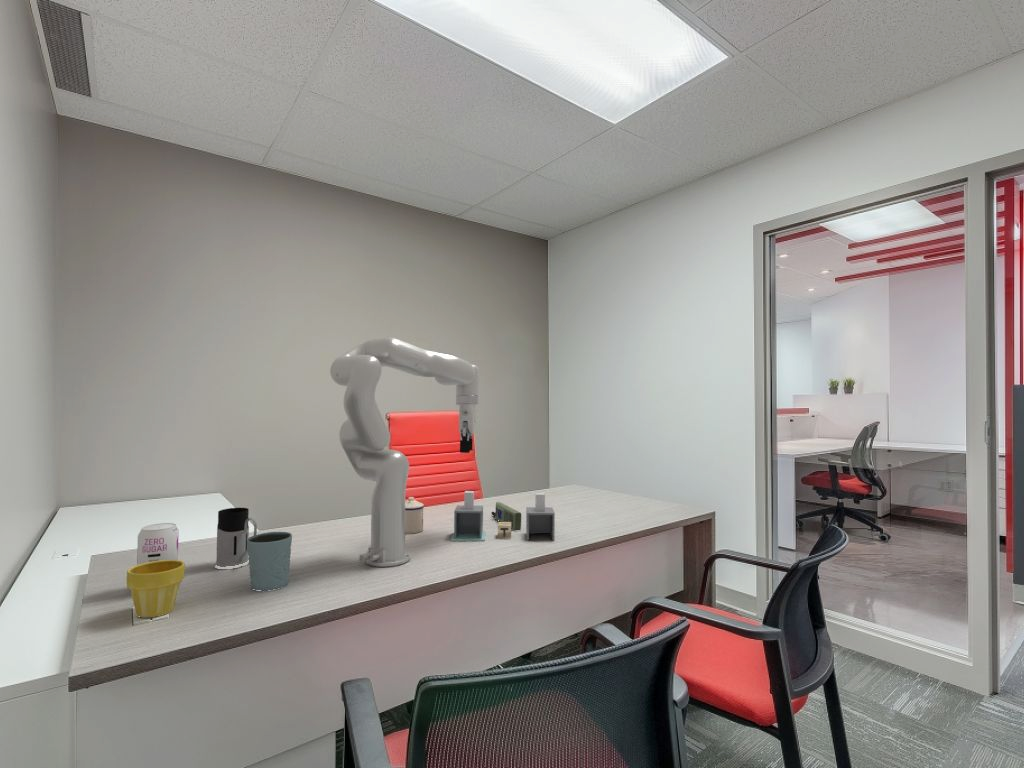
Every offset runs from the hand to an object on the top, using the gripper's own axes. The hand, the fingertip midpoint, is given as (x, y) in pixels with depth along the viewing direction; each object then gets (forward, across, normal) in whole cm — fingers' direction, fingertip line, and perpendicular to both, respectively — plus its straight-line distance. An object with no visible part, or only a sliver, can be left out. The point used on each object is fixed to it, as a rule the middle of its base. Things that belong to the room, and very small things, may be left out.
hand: (466, 451), depth 174 cm
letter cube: (+29, 0, -13) cm, 32 cm away
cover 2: (+28, 0, -25) cm, 38 cm away
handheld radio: (+29, +20, -13) cm, 37 cm away
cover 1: (+28, 0, -1) cm, 28 cm away
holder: (+30, -32, +59) cm, 74 cm away
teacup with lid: (+29, +8, +21) cm, 36 cm away
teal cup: (+30, -46, +44) cm, 70 cm away
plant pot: (+30, -62, +61) cm, 92 cm away
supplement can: (+30, -49, +70) cm, 90 cm away
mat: (+29, 0, -1) cm, 29 cm away
